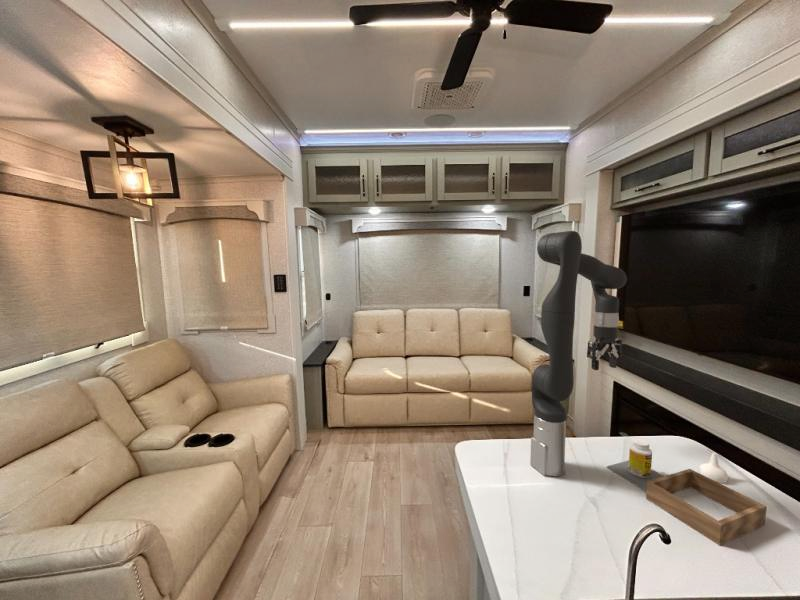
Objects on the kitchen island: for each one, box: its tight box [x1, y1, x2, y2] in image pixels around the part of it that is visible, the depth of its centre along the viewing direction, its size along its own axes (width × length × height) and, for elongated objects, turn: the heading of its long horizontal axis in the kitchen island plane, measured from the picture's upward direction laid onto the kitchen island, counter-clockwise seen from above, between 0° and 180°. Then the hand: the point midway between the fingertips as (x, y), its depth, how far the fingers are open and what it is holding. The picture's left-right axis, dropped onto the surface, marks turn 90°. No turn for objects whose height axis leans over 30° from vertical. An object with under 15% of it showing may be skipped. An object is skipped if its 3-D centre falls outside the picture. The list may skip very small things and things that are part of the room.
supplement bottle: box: [628, 438, 653, 478], centre depth 97 cm, size 6×6×10 cm
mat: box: [606, 459, 665, 492], centre depth 98 cm, size 12×12×1 cm
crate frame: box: [645, 468, 767, 546], centre depth 82 cm, size 18×16×5 cm
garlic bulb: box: [698, 451, 729, 484], centre depth 96 cm, size 6×6×8 cm
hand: (603, 368), depth 114 cm, fingers open, 8 cm apart
